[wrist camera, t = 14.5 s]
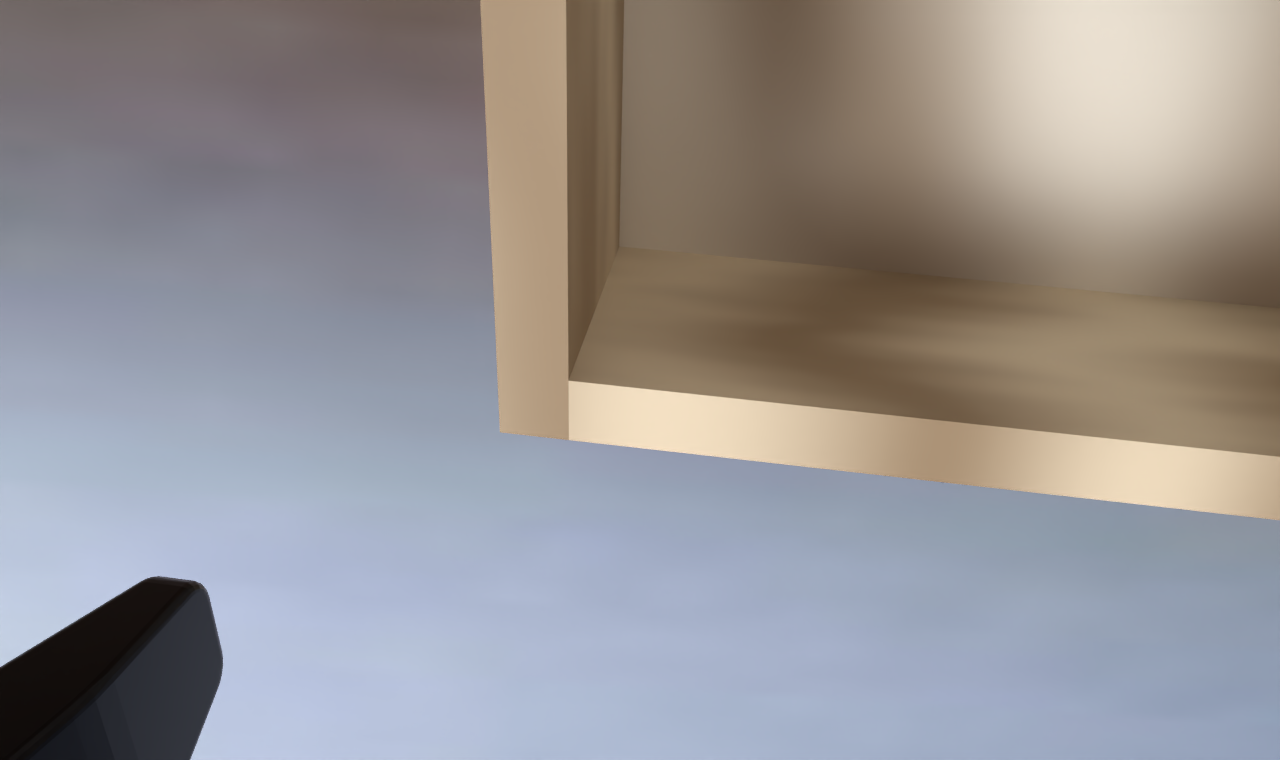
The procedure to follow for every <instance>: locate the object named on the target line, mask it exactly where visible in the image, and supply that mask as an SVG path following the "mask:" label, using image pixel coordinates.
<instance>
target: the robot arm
mask: <svg viewBox="0 0 1280 760" xmlns="http://www.w3.org/2000/svg"><path fill="white" fill-rule="evenodd" d="M222 669H223V655H222V649H221V645H220V641H219V637H218V632H217V628H216V624H215V619H214V615H213V611H212V607H211V602H210V598H209V595H208V592H207V590H206V589H205V588H204V586H203V585H202V584H201V583H198V582H196V581H191V580H183V579H176V578H168V577H160V576H157V577H150V578H147V579H145V580H143V581H141V582H139V583H138V584H136V585H134V586H133V587H131V588H129V589H128V590H126V591H124V592H123V593H121V594H119V595H118V596H116V597H115V598H113V599H111V600H110V601H108V602H106V603H105V604H103V605H101V606H100V607H98V608H96V609H95V610H93V611H92V612H90V613H88V614H87V615H85V616H83V617H82V618H80V619H78V620H77V621H75V622H74V623H72V624H70V625H69V626H67V627H65V628H64V629H62V630H60V631H59V632H57V633H55V634H54V635H52V636H51V637H49V638H47V639H46V640H44V641H42V642H41V643H39V644H37V645H36V646H34V647H32V648H31V649H29V650H28V651H26V652H24V653H23V654H21V655H19V656H18V657H16V658H14V659H13V660H11V661H10V662H8V663H6V664H5V665H3V666H1V667H0V760H190V759H191V756H192V754H193V751H194V749H195V746H196V743H197V741H198V738H199V736H200V733H201V731H202V728H203V725H204V723H205V720H206V718H207V715H208V713H209V710H210V707H211V705H212V702H213V700H214V697H215V695H216V692H217V689H218V687H219V684H220V680H221V676H222Z"/></svg>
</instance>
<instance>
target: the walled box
mask: <svg viewBox="0 0 1280 760" xmlns="http://www.w3.org/2000/svg"><path fill="white" fill-rule="evenodd" d="M480 2H481V24H482V46H483V68H484V90H485V112H486V134H487V156H488V178H489V200H490V222H491V244H492V266H493V288H494V309H495V331H496V353H497V375H498V397H499V419H500V432H503V433H512V434H520V435H529V436H538V437H547V438H556V439H565V440H574V441H582V442H591V443H600V444H609V445H618V446H627V447H636V448H645V449H653V450H662V451H671V452H680V453H689V454H698V455H707V456H715V457H724V458H733V459H742V460H751V461H760V462H769V463H778V464H786V465H795V466H804V467H813V468H822V469H831V470H840V471H848V472H857V473H866V474H875V475H884V476H893V477H902V478H911V479H919V480H928V481H937V482H946V483H955V484H964V485H973V486H981V487H990V488H999V489H1008V490H1017V491H1026V492H1035V493H1044V494H1052V495H1061V496H1070V497H1079V498H1088V499H1097V500H1106V501H1114V502H1123V503H1132V504H1141V505H1150V506H1159V507H1168V508H1176V509H1185V510H1194V511H1203V512H1212V513H1221V514H1230V515H1239V516H1247V517H1256V518H1265V519H1274V520H1280V0H480Z"/></svg>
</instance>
